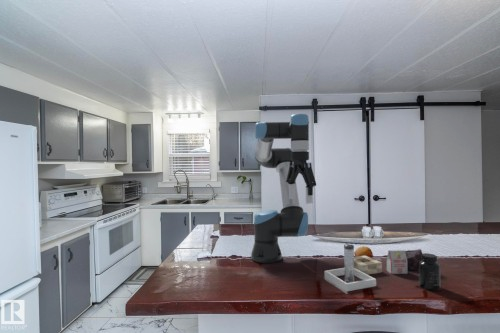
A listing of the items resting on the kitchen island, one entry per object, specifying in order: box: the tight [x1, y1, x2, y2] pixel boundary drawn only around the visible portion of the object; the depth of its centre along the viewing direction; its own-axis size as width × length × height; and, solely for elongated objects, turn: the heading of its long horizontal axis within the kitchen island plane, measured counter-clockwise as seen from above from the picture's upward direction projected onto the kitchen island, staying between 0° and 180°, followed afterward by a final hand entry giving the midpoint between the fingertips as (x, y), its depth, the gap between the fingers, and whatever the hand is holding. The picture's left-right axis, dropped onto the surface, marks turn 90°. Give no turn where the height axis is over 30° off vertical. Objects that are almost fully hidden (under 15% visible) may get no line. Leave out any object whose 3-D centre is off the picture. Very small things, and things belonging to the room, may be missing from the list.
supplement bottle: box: [418, 252, 441, 292], centre depth 107 cm, size 7×7×12 cm
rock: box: [405, 248, 423, 272], centre depth 125 cm, size 12×9×10 cm
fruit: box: [354, 245, 373, 258], centre depth 137 cm, size 8×8×8 cm
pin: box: [343, 243, 355, 283], centre depth 112 cm, size 4×4×14 cm
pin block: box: [354, 256, 383, 275], centre depth 124 cm, size 10×10×5 cm
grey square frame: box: [324, 267, 377, 295], centre depth 112 cm, size 14×13×4 cm
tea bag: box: [386, 249, 409, 275], centre depth 120 cm, size 4×7×10 cm, turn 89°
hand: (300, 200), depth 124 cm, fingers open, 13 cm apart
